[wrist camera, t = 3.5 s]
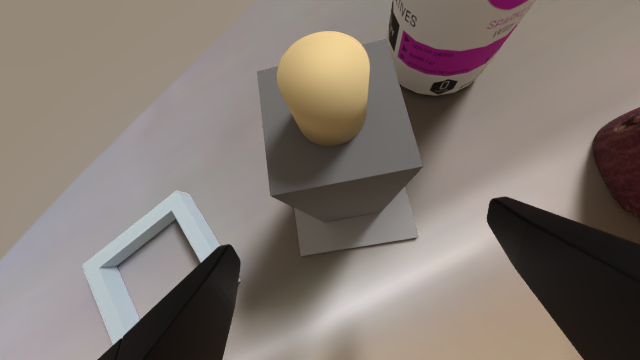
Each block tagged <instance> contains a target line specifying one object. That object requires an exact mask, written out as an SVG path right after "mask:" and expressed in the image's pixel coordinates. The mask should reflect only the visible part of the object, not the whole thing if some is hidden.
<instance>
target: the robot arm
mask: <svg viewBox="0 0 640 360" xmlns="http://www.w3.org/2000/svg"><path fill="white" fill-rule="evenodd" d="M487 222H488V225H489V227H490V228H491V230H492V232H493V233H494V235H495V237H496V238H497V240H498V242H499V243H500V245H501V247H502V248H503V250H504V252H505V253H506V255H507V256H508V258H509V260H510V261H511V263H512V264H513V266H514V267H515V269H516V270H517V272H518V273H519V274H520V276H521V277H522V278H523V280H524V281H525V282H526V284H527V285H528V286H529V288H530V289H531V290H532V292H533V293H534V294H535V296H536V297H537V298H538V300H539V301H540V302H541V304H542V305H543V306H544V308H545V309H546V310H547V312H548V313H549V314H550V316H551V317H552V318H553V319H554V321H555V322H556V323H557V325H558V326H559V327H560V329H561V330H562V331H563V333H564V334H565V335H566V337H567V338H568V339H569V341H570V342H571V343H572V345H573V346H574V347H575V349H576V350H577V351H578V353H579V354H580V355H581V357H582V358H583V359H584V360H640V245H639V244H637V243H634V242H631V241H628V240H626V239H623V238H620V237H617V236H614V235H612V234H609V233H606V232H603V231H601V230H598V229H595V228H592V227H589V226H587V225H584V224H581V223H578V222H576V221H573V220H570V219H567V218H564V217H562V216H559V215H556V214H553V213H551V212H548V211H545V210H542V209H539V208H537V207H534V206H531V205H528V204H525V203H523V202H520V201H517V200H514V199H512V198H509V197H499V198H493V199H491V201H490V203H489V208H488V214H487ZM239 273H240V259H239V257H238V255H237V254H236V252H235V250H234V248H233V247H232V246H231V245H230V244H227V245H221V246H219V247H217V248H216V249H215V250H214V251H213V252H212V253H211V254H210V255H209V256H208V257H207V258H206V259H204V260H203V261H202V262H201V263H200V264H199V265H198V266H197V267H196V268H195V269H194V270H193V271H192V272H191V273H190V274H189V275H187V276H186V277H185V278H184V279H183V280H182V281H181V282H180V283H179V284H178V285H177V286H176V287H175V288H174V289H173V290H171V291H170V292H169V293H168V294H167V295H166V296H165V297H164V298H163V299H162V300H161V301H160V302H159V303H158V304H157V305H155V306H154V307H153V308H152V309H151V310H150V311H149V312H148V313H147V314H146V315H145V316H144V317H143V318H142V319H141V320H140V321H138V322H137V323H136V324H135V325H134V326H133V327H132V328H131V329H130V330H129V331H128V332H127V333H126V334H125V335H124V336H123V338H120V339H119V340H118V341H117V342H116V343H115V344H114V345H113V346H112V347H111V348H110V349H109V350H108V351H106V352H105V353H104V354H103V355H102V356H101V357H100V358H99V359H98V360H222V359H223V355H224V350H225V346H226V342H227V338H228V334H229V329H230V325H231V321H232V317H233V312H234V308H235V302H236V295H237V288H238V280H239Z"/></svg>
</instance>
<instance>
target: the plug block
mask: <svg viewBox="0 0 640 360" xmlns="http://www.w3.org/2000/svg"><path fill="white" fill-rule="evenodd" d="M257 75H258V84H259V93H260V103H261V112H262V122H263V131H264V140H265V150H266V159H267V168H268V178H269V187H270V196H272V197H274V198H276V199H278V200H280V201H282V202H284V203H286V204H288V205H290V206H292V207H294V208H296V209H298V210H300V211H302V212H304V213H306V214H308V215H310V216H312V217H314V218H316V219H318V220H320V221H322V222H329V221H335V220H340V219H346V218H352V217H357V216H363V215H369V214H374V213H380V212H382V211H383V210H384V209H385V208H386V206H387V205H388V204H389V203H390V202H391V201H392V200H393V199H394V198H395V197H396V196H397V194H398V193H399V192H400V191H401V190H402V189H403V188H404V187H405V186H406V185H407V184H408V182H409V181H410V180H411V179H412V178H413V177H414V176H415V175H416V174H417V173H418V172H419V170H420V169H421V168H422V167H423V163H422V160H421V157H420V153H419V150H418V146H417V143H416V140H415V136H414V133H413V129H412V126H411V123H410V119H409V116H408V112H407V109H406V105H405V102H404V99H403V95H402V92H401V88H400V85H399V82H398V78H397V75H396V71H395V68H394V65H393V61H392V58H391V54H390V51H389V47H388V44H387V41H386V39H384V40H380V41H376V42H372V43H368V44H364V45H361V44H360V43H359V42H358V41H357V40H355V39H354V38H352V37H351V36H349V35H346V34H344V33H340V32H333V31H325V32H318V33H314V34H310V35H308V36H306V37H303V38H302V39H300V40H298V41H297V42H295V43H294V44H293V45H292V46H291V47H290V48H289V49H288V50H287V51H286V52H285V54H284V55H283V57H282V59H281V60H280V63H279V65H278V66H277V67H274V68H270V69H266V70H262V71H258V72H257Z"/></svg>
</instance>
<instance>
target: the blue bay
mask: <svg viewBox="0 0 640 360" xmlns="http://www.w3.org/2000/svg"><path fill="white" fill-rule="evenodd" d="M175 219H177V221H178V223H179V224H180V226H181V228H182V230H183V232H184V233H185V235H186V237H187V239H188V240H189V242H190V244H191V246H192V248H193V249H194V251H195V253H196V255H197V257H198V258H199V260H200V262H202V261H203V260H204V259H206V258H207V257H208V256H209V255H210V254H211V253H212V252H213V251H214V250H215V249H216V248H217V247H219V246H220V244H219V243H218V241H217V239H216V238H215V236H214V234H213V233H212V231H211V229H210V228H209V226H208V224H207V223H206V221H205V219H204V218H203V216H202V214H201V213H200V211H199V210H198V208H197V206H196V205H195V203H194V201H193V200H192V198H191V196H190V195H189V193H185V192H181V191H175V192H174V193H173V194H171V195H170V196H169V197H168V198H166V199H165V200H164V201H163V202H161V203H160V204H159V205H158V206H156V207H155V208H154V209H153V210H151V211H150V212H149V213H147V214H146V215H145V216H144V217H142V218H141V219H140V220H139V221H137V222H136V223H135V224H134V225H132V226H131V227H130V228H128V229H127V230H126V231H125V232H123V233H122V234H121V235H120V236H118V237H117V238H116V239H115V240H113V241H112V242H111V243H110V244H108V245H107V246H106V247H104V248H103V249H102V250H101V251H99V252H98V253H97V254H96V255H94V256H93V257H92V258H91V259H89V260H88V261H87V262H85V263H84V264H83V265H82V267H83V269H84V272H85V275H86V277H87V280H88V282H89V285H90V287H91V290H92V293H93V295H94V298H95V300H96V303H97V305H98V308H99V311H100V313H101V316H102V318H103V321H104V323H105V326H106V329H107V331H108V334H109V336H110V339H111V341H112V344H113V345H114V344H115V343H116V342H117V341H118V340H119V339H120V338H123V336H124V335H125V334H126V333H127V332H128V331H129V330H130V329H131V328H132V327H133V326H134V325H135V324H136V323H137V322H138V321H140V319H139V316H138V314H137V312H136V310H135V307H134V305H133V303H132V300H131V298H130V296H129V294H128V291H127V289H126V287H125V284H124V282H123V280H122V278H121V275H120V273H119V271H118V268H117V265H119V264H120V263H121V262H122V261H124V260H125V259H126V258H127V257H129V256H130V255H131V254H132V253H134V252H135V251H136V250H138V249H139V248H140V247H141V246H143V245H144V244H145V243H146V242H148V241H149V240H150V239H151V238H153V237H154V236H155V235H156V234H158V233H159V232H160V231H161V230H163V229H164V228H165V227H166V226H168V225H169V224H170V223H171V222H173V221H174V220H175ZM240 281H241V279H240V278H239V280H238V283H239V282H240Z"/></svg>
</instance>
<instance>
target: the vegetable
mask: <svg viewBox="0 0 640 360" xmlns="http://www.w3.org/2000/svg"><path fill="white" fill-rule="evenodd" d="M594 155H595V159H596V163H597V165H598V168H599V170H600V172H601V174H602V177H603V179H604V181H605V183H606V185H607V188H608V189H609V190H610V191H609V192H610V194H611V195H612V196H613V197H614V198H616V199H617V200H618V202H619V203H620V204H621V206H622V207H623V209H625V210H626V211H628V212H632V214H633V215H636V216H637V217H639V218H640V107H639V108H637V109H634V110H632V111H630V112H628V113H626V114H624V115H622V116H620V117H617V118H616V119H614V120H612V121H611V122H609V123H608V124H607V125H605V126H604V127H602V128H601V129H600V131H599V132H598V134H597V135H596V137H595V140H594Z"/></svg>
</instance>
